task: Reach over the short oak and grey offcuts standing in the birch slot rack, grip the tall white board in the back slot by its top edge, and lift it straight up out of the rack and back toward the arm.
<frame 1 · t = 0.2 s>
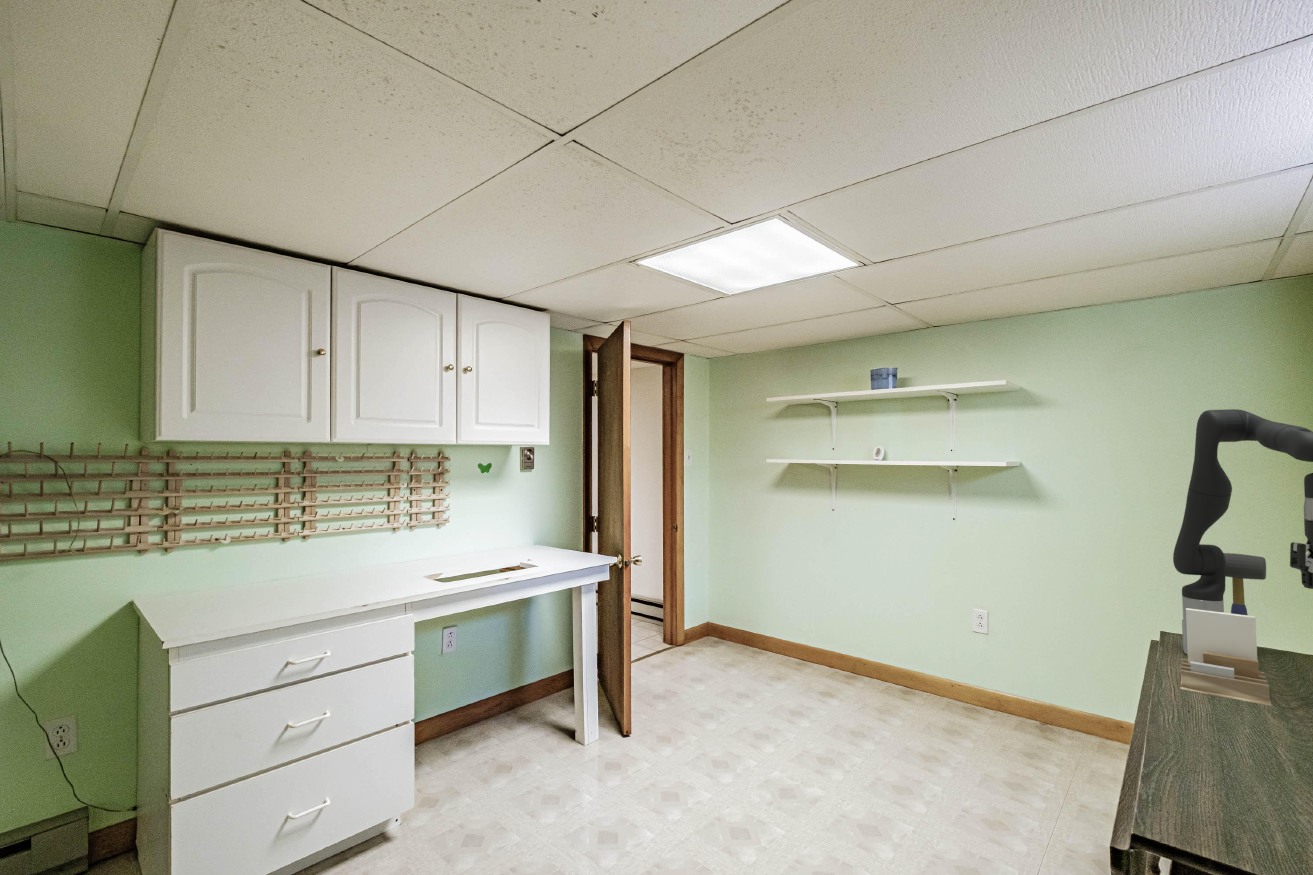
offcut oak: (1231, 688, 149), point 1 cm above the table, touching rack
rubber mallet: (1240, 652, 181), on the table
sheet: (1222, 683, 153), point 1 cm above the table, touching rack
offcut grey: (1212, 689, 148), point 1 cm above the table, touching rack
rack: (1223, 692, 150), on the table
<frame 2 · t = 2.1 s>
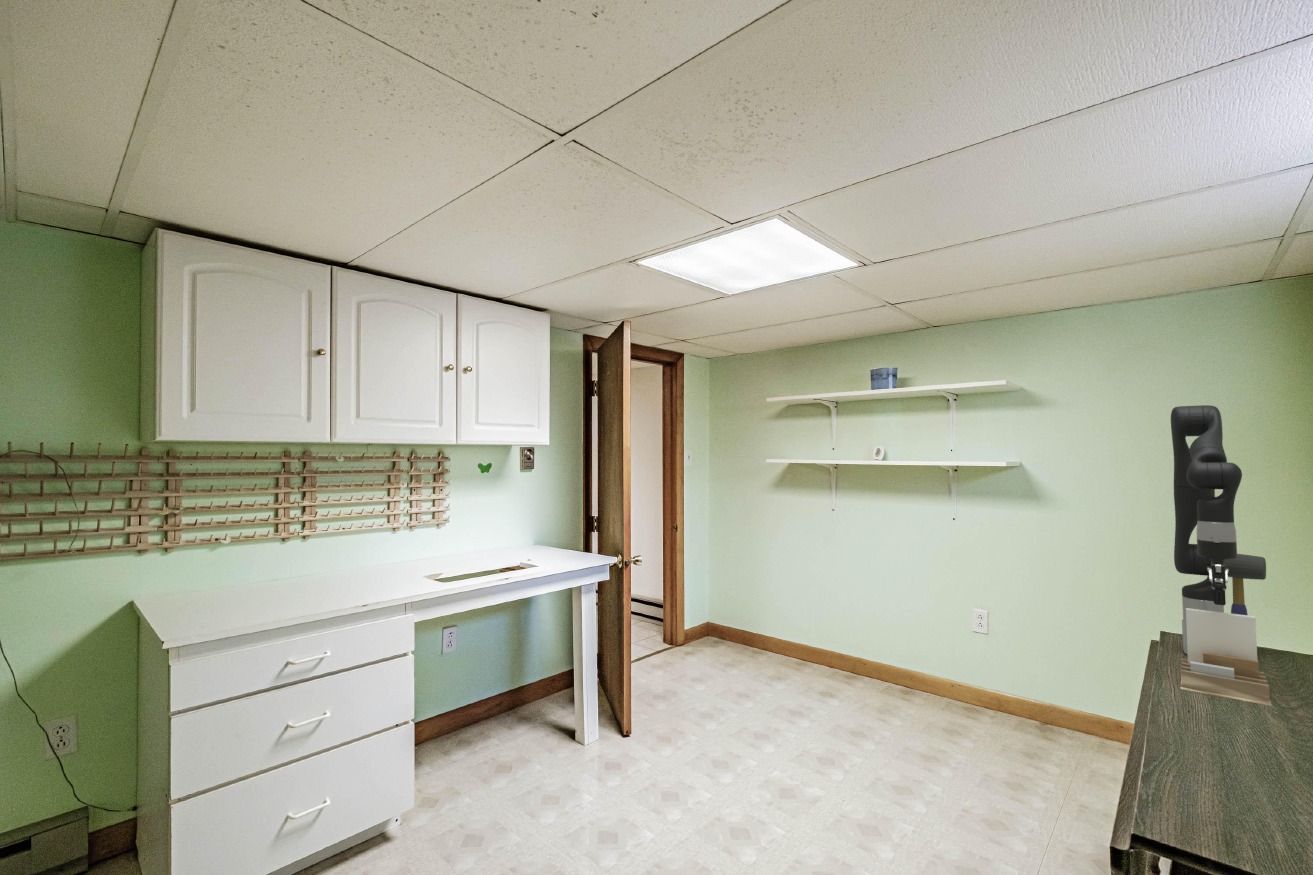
hand: (1219, 601, 153), 22 cm above the table, tool pointing down, fingers open, 8 cm apart
nothing on the table moved.
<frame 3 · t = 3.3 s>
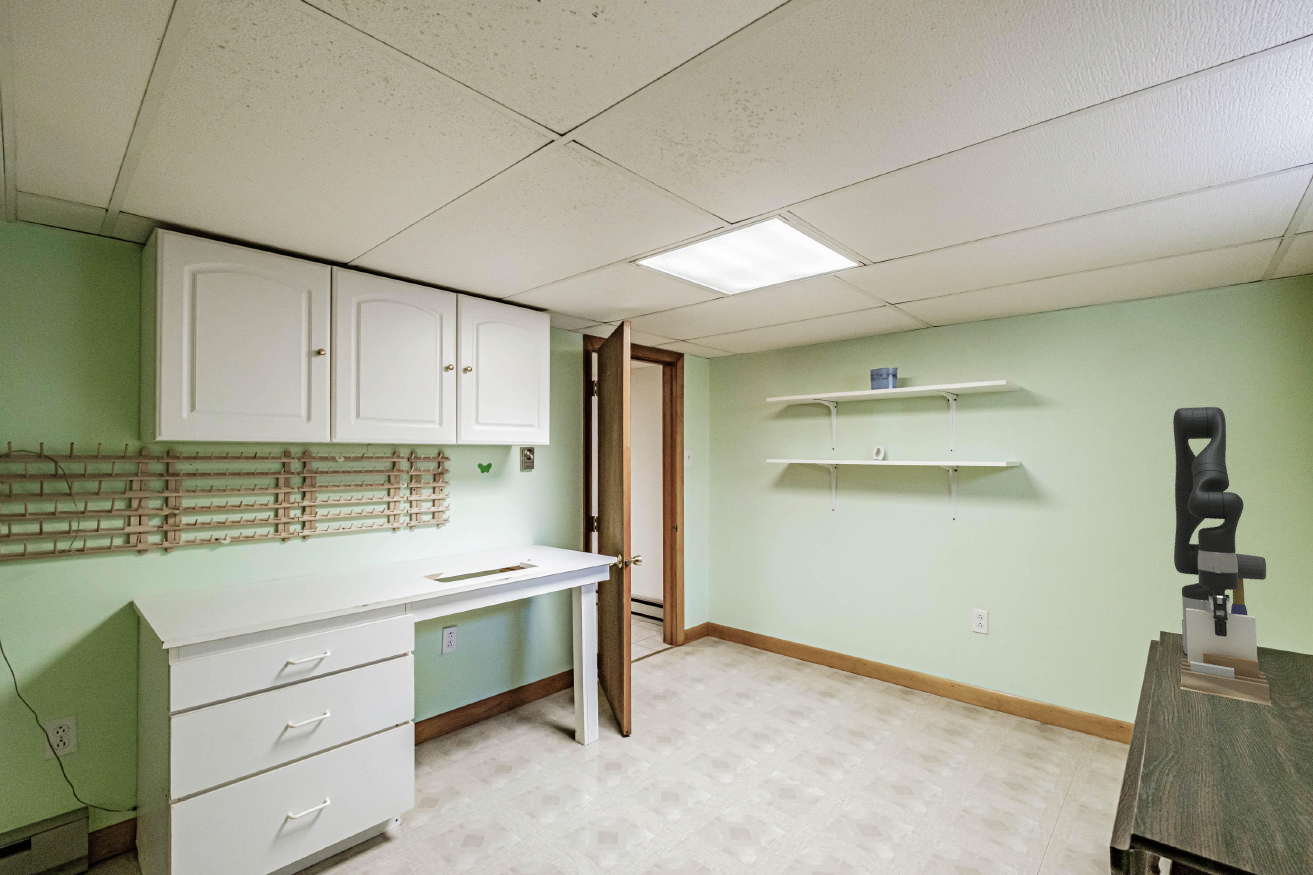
hand: (1220, 632, 153), 14 cm above the table, tool pointing down, fingers open, 8 cm apart
nothing on the table moved.
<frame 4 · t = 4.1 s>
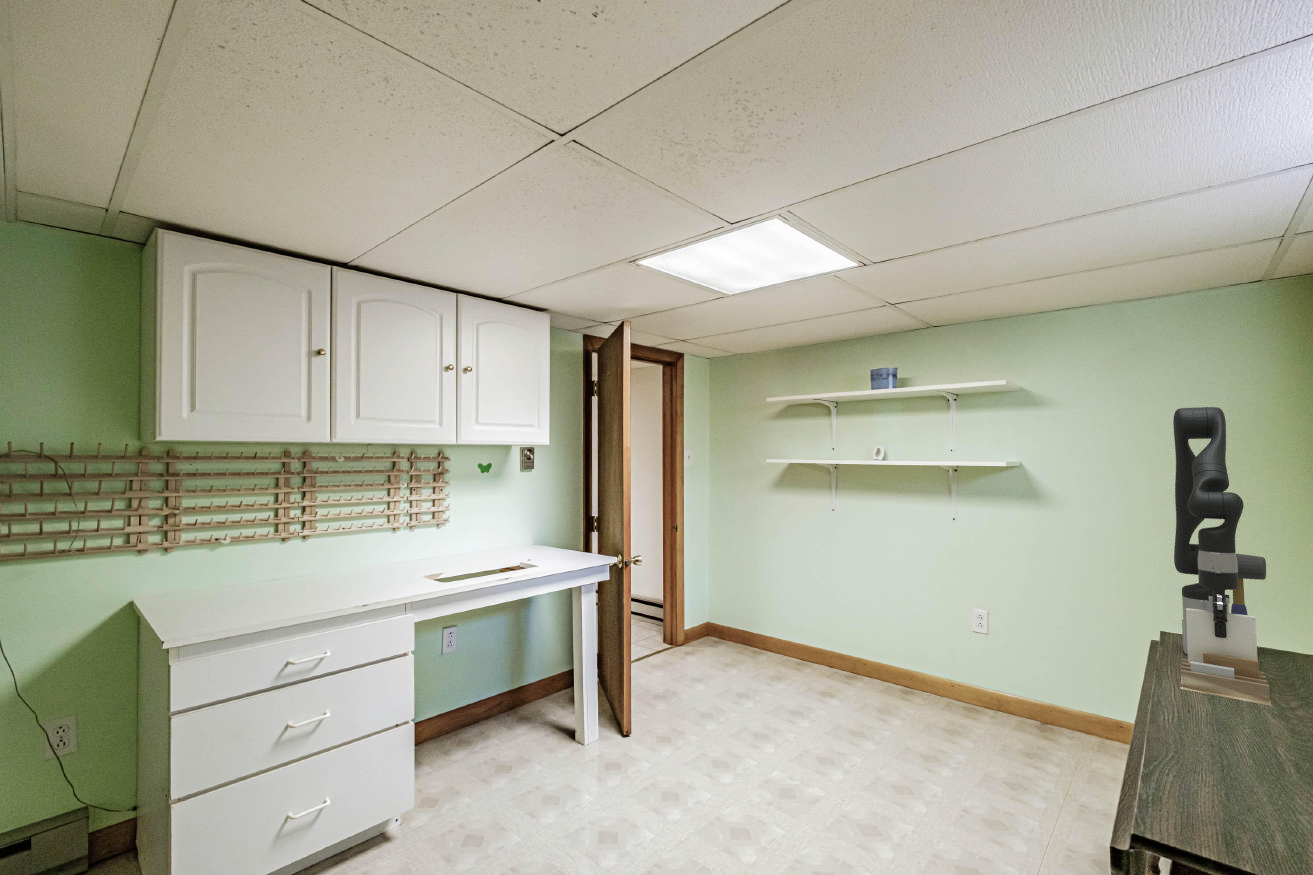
hand: (1220, 635, 153), 13 cm above the table, tool pointing down, fingers closed on sheet, 2 cm apart
sheet: (1222, 683, 153), point 1 cm above the table, touching gripper
everything else where it was.
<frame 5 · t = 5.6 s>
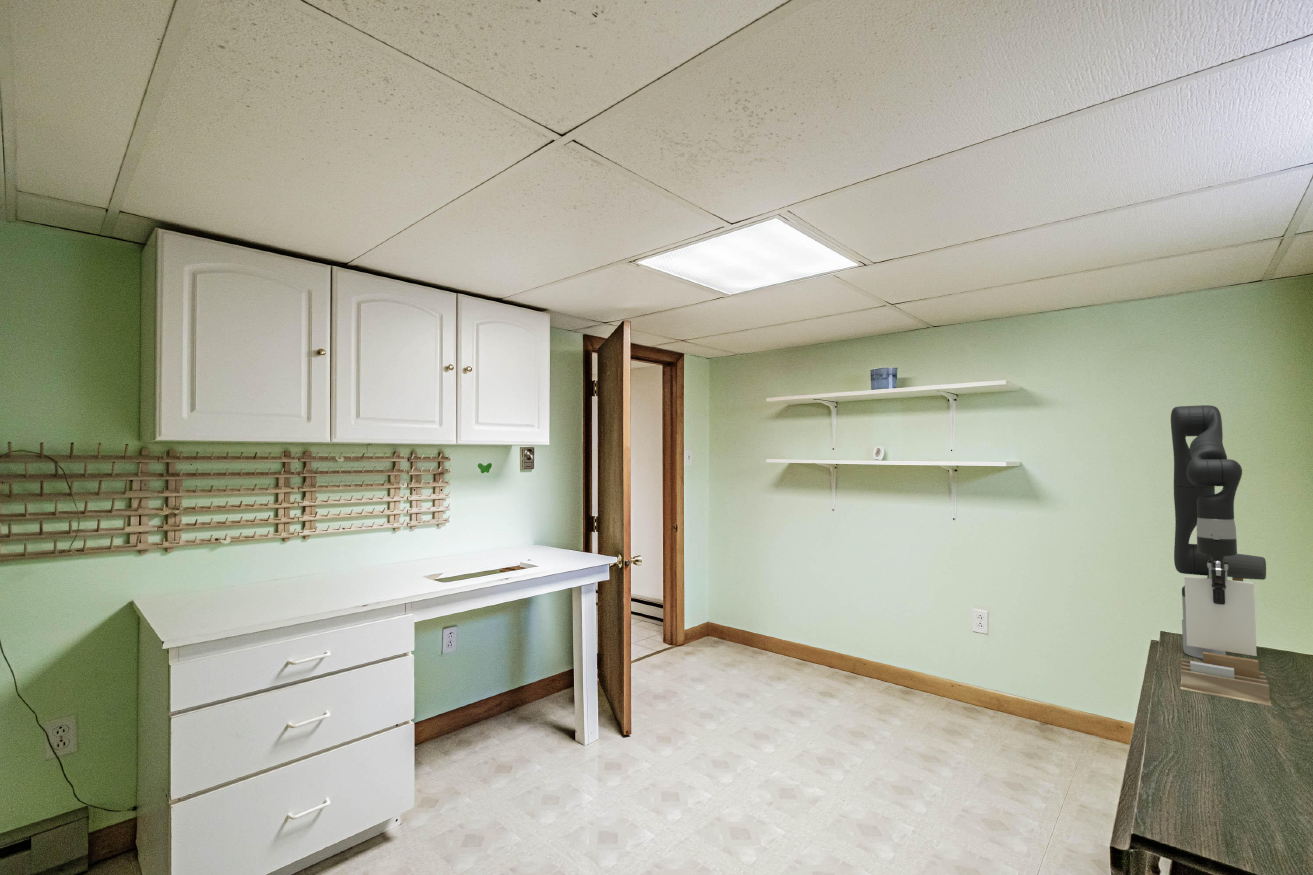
hand: (1219, 602, 153), 22 cm above the table, tool pointing down, fingers closed on sheet
sheet: (1220, 649, 153), point 10 cm above the table, touching gripper
everything else where it was.
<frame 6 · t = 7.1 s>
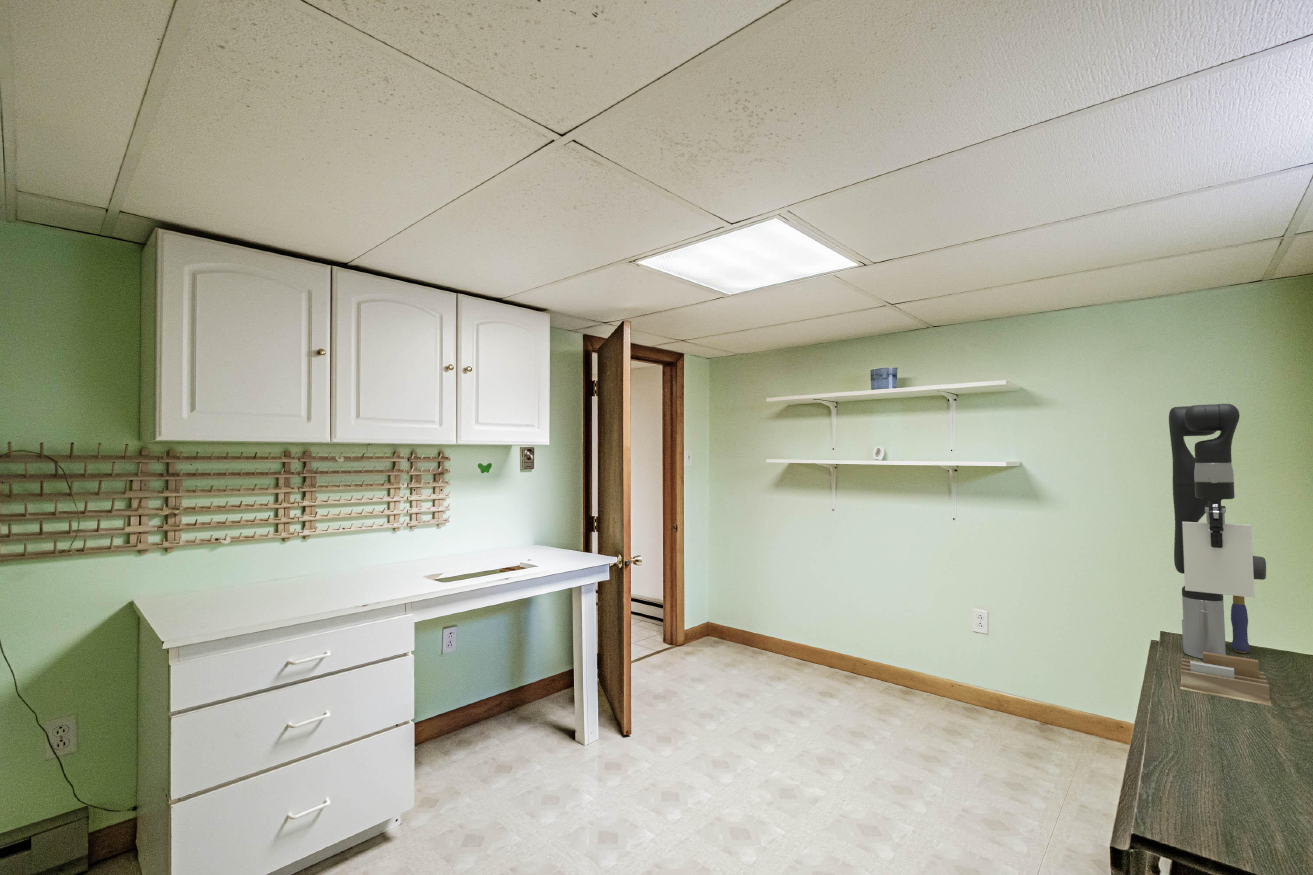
hand: (1216, 546, 154), 36 cm above the table, tool pointing down, fingers closed on sheet
sheet: (1218, 593, 154), point 24 cm above the table, touching gripper
everything else where it was.
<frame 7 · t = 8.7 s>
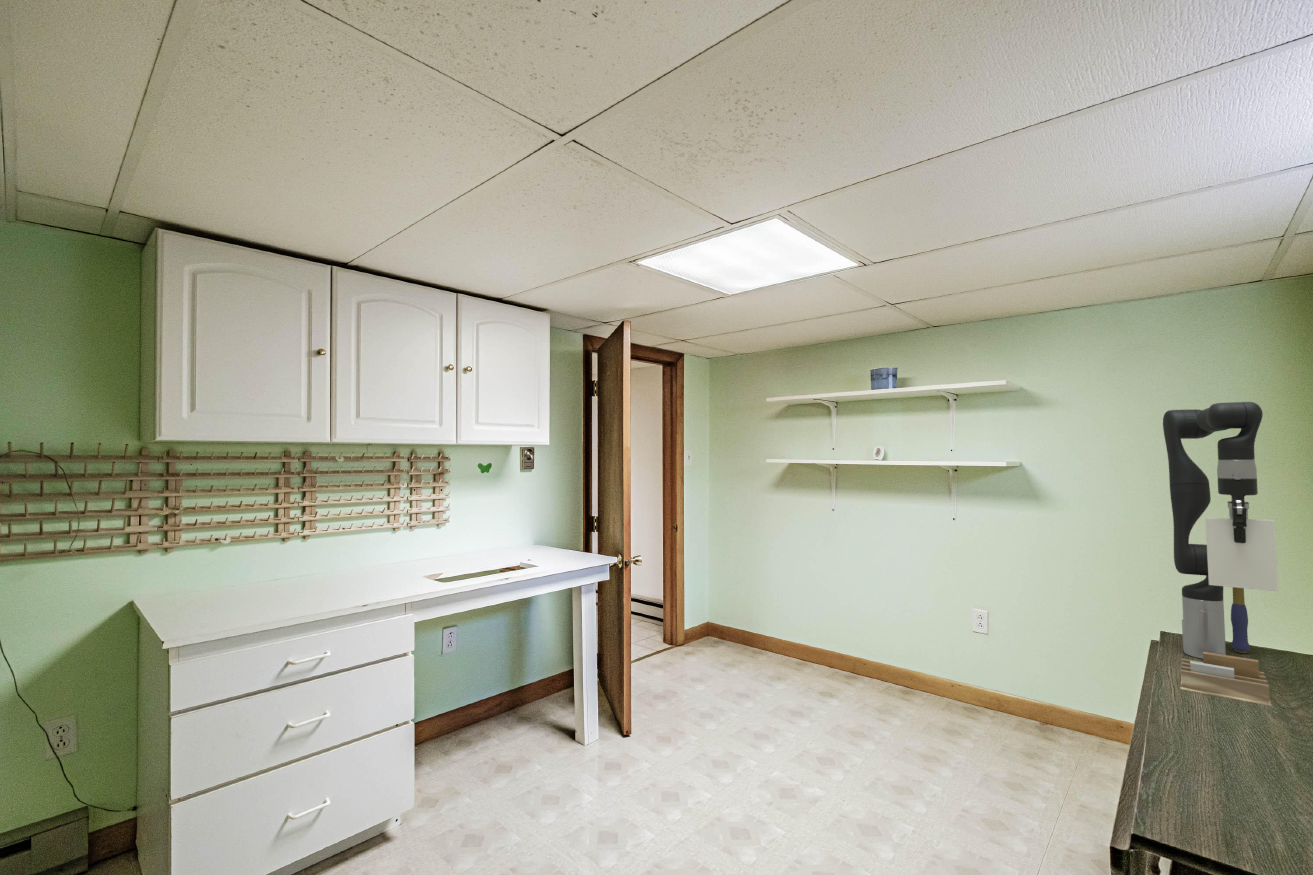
hand: (1239, 542, 157), 37 cm above the table, tool pointing down, fingers closed on sheet
sheet: (1242, 587, 156), point 25 cm above the table, touching gripper
everything else where it was.
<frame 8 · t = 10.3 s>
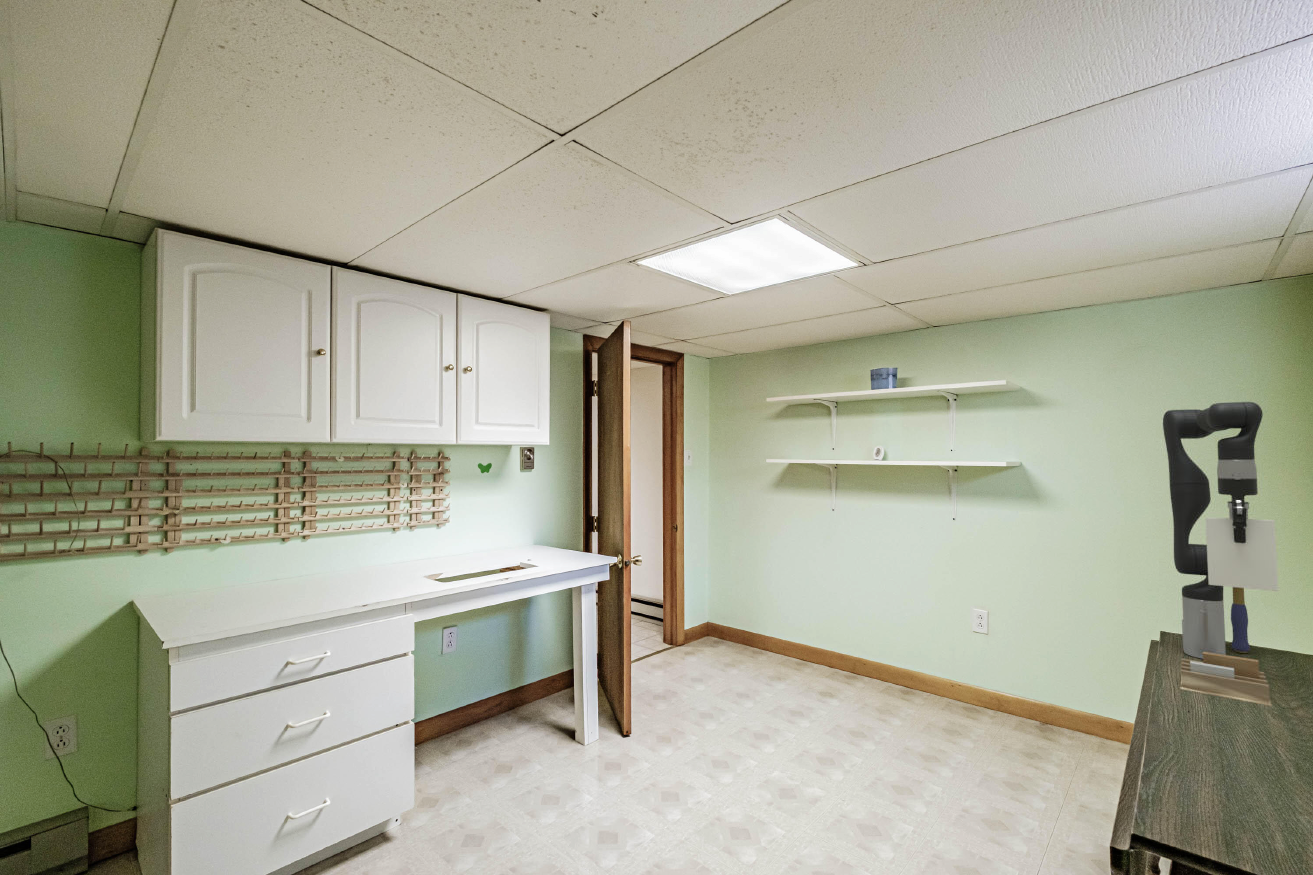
hand: (1239, 542, 157), 37 cm above the table, tool pointing down, fingers closed on sheet
sheet: (1242, 587, 156), point 25 cm above the table, touching gripper
everything else where it was.
at the end: the gripper is holding sheet; sheet point 25.1 cm above the table; offcut oak moved 0.0 cm from its start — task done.
